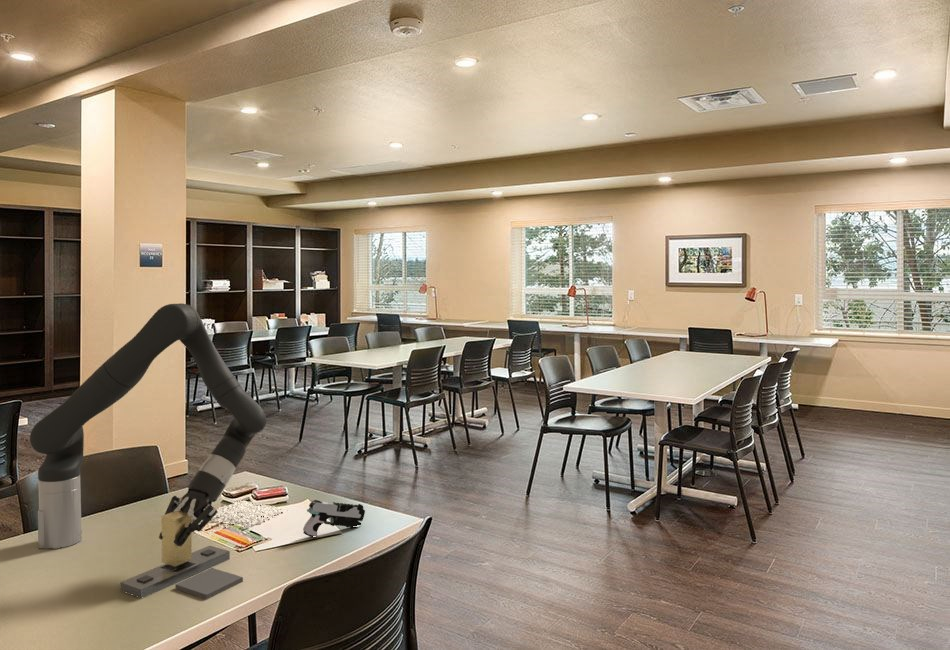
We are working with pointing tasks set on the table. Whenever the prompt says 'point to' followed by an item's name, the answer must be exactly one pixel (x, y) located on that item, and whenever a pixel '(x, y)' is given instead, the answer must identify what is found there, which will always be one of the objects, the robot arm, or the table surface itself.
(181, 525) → the brass block
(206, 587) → the mat
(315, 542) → the table surface
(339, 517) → the toy gun
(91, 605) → the table surface
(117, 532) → the table surface
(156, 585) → the rail
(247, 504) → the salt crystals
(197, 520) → the robot arm
